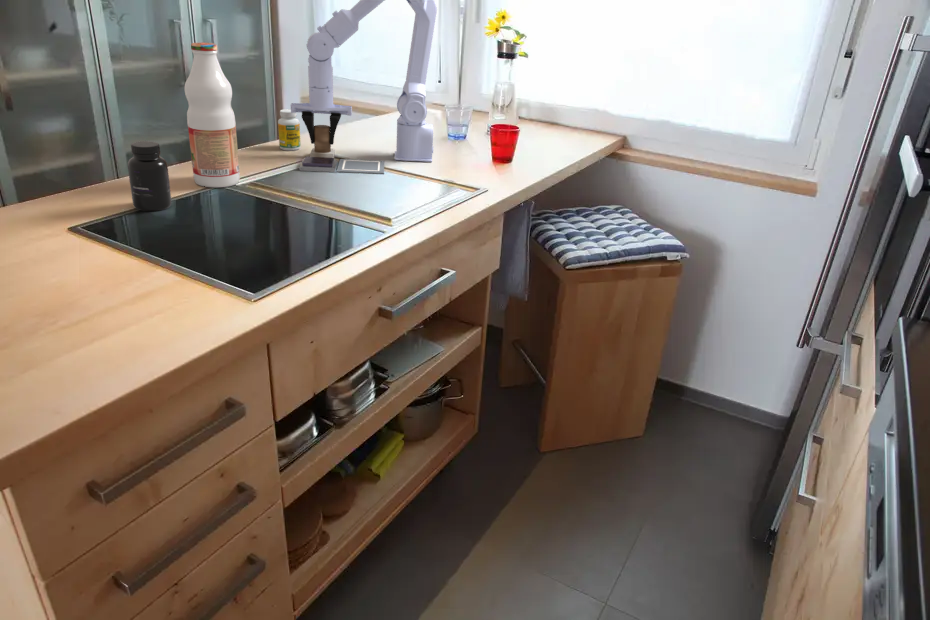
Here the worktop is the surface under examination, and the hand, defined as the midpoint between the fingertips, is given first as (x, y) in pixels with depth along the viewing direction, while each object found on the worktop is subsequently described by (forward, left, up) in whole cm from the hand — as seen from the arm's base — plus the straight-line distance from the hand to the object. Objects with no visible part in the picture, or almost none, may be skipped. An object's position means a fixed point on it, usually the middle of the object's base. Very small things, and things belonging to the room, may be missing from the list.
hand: (322, 143), depth 170 cm
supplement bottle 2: (+9, -7, -4) cm, 12 cm away
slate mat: (-10, +8, -3) cm, 13 cm away
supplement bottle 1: (+28, +42, -4) cm, 51 cm away
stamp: (0, 0, -3) cm, 3 cm away
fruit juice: (+20, +25, -4) cm, 32 cm away
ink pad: (0, +10, -3) cm, 11 cm away
